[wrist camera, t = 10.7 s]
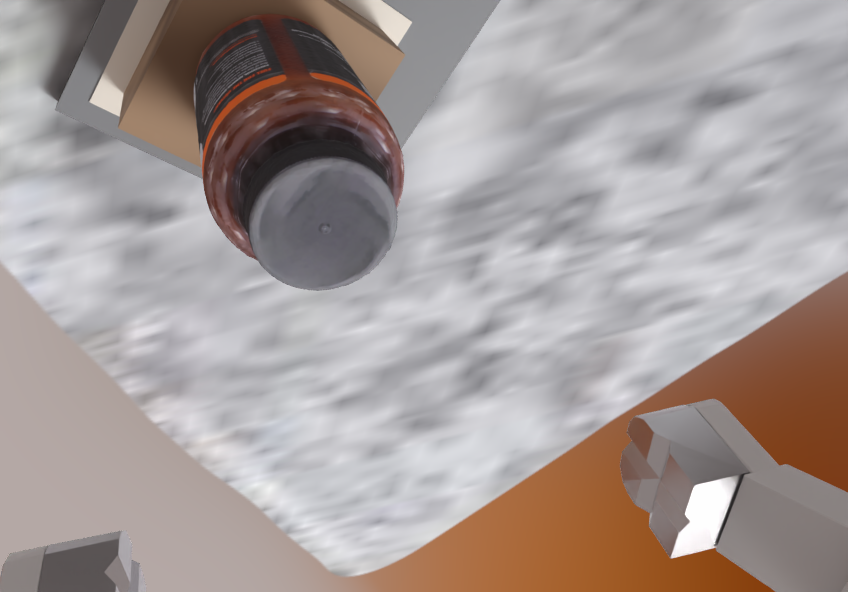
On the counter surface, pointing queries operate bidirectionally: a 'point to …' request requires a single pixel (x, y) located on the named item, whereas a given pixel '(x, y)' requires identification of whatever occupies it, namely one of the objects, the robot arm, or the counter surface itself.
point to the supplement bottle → (295, 153)
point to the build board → (378, 3)
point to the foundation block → (193, 31)
